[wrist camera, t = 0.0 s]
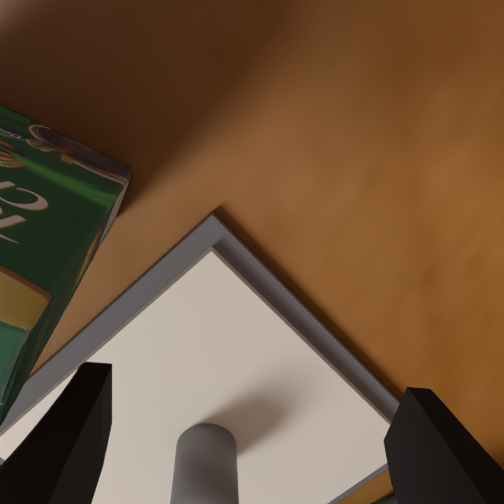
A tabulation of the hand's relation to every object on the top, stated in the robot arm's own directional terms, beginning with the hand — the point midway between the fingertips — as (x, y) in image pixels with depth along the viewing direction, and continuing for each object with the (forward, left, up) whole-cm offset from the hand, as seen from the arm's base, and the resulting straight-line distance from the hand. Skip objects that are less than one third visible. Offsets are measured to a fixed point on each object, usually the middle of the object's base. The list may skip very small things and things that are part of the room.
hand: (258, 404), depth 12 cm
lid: (-8, -6, -10) cm, 14 cm away
